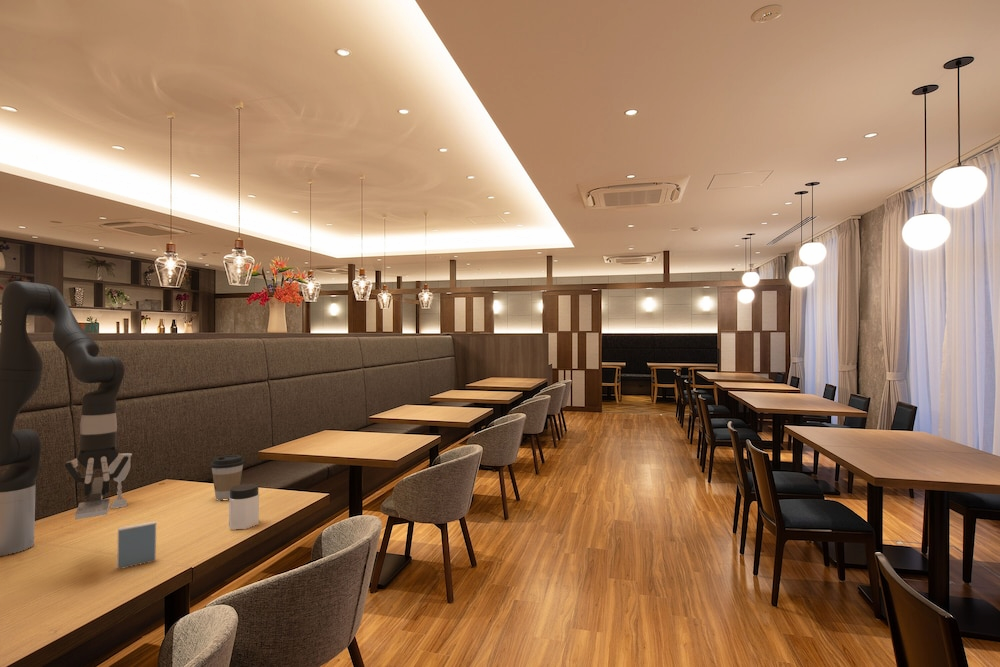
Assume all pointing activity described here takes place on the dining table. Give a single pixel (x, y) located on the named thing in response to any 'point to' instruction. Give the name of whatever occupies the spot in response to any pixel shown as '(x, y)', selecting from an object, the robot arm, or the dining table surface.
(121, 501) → the chalice
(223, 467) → the coffee cup
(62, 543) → the dining table surface
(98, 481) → the turner
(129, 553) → the tile
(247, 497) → the jar
